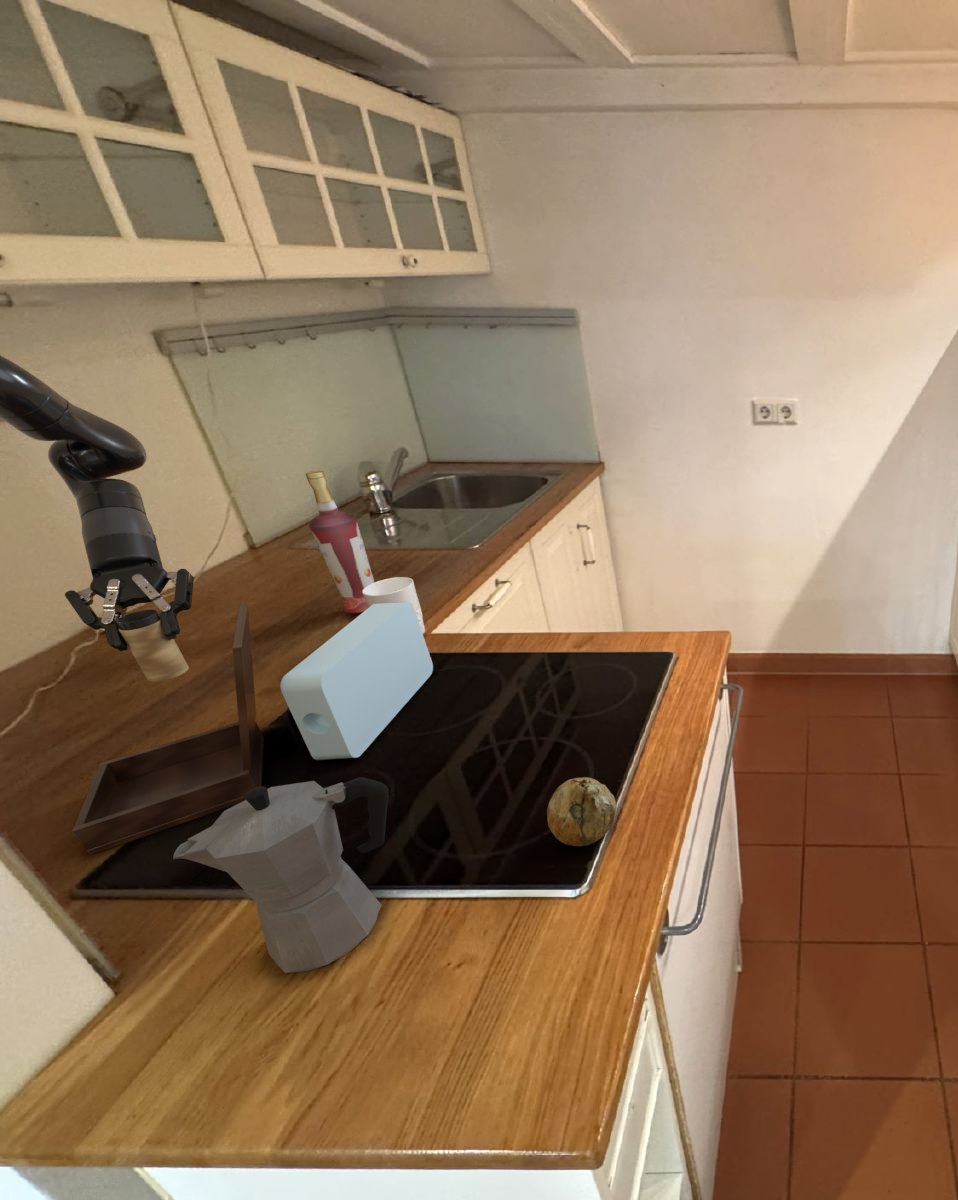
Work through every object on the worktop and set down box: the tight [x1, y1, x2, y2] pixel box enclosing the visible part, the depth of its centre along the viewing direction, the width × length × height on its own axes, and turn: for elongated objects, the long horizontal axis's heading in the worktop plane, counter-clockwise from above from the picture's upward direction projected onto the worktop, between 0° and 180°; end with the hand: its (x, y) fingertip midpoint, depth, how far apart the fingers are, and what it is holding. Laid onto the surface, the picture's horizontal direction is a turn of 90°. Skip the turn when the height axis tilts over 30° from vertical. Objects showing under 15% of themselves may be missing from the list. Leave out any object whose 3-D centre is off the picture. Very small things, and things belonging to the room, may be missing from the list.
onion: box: [546, 776, 618, 847], centre depth 74 cm, size 8×8×8 cm
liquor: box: [305, 470, 376, 617], centre depth 124 cm, size 7×7×28 cm
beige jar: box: [116, 609, 190, 683], centre depth 98 cm, size 5×5×10 cm
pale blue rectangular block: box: [280, 602, 434, 761], centre depth 95 cm, size 23×6×13 cm, turn 4°
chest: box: [71, 721, 265, 856], centre depth 83 cm, size 16×15×4 cm
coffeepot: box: [172, 776, 390, 974], centre depth 61 cm, size 15×9×18 cm, turn 125°
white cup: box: [362, 576, 426, 635], centre depth 118 cm, size 8×8×10 cm
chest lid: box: [231, 604, 257, 770], centre depth 83 cm, size 16×15×1 cm
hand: (146, 642), depth 96 cm, fingers closed on beige jar, 5 cm apart
